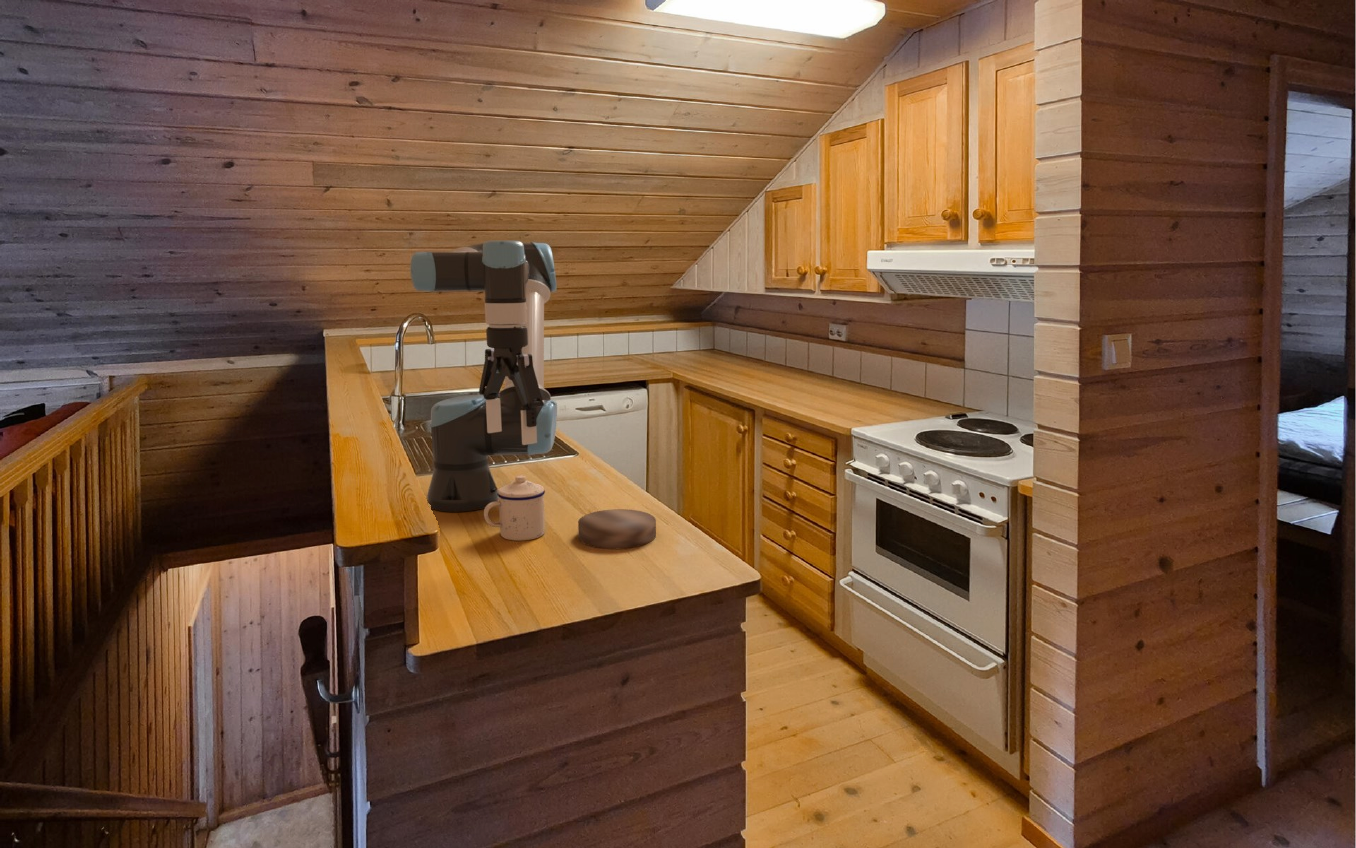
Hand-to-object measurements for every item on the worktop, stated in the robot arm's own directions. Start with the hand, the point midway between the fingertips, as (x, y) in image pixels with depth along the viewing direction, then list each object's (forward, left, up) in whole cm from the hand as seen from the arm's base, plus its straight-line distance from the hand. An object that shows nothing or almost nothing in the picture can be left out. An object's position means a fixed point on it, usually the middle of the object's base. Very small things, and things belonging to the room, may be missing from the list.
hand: (511, 437), depth 161 cm
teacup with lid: (0, 0, -20) cm, 20 cm away
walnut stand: (+15, -13, -19) cm, 28 cm away
